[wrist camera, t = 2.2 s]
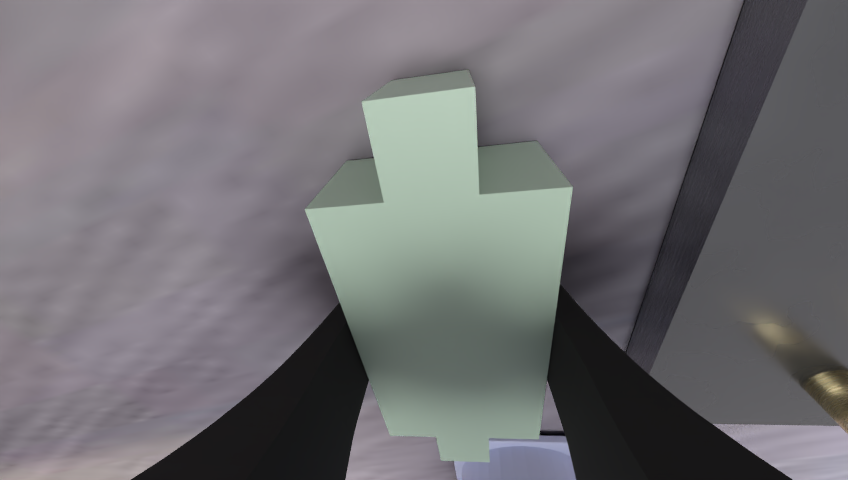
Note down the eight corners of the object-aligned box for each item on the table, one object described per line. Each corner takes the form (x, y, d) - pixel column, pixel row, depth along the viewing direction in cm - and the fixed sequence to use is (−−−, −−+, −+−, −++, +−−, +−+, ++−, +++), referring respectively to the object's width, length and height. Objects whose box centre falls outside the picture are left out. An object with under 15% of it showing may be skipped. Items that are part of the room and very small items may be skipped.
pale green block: (521, 388, 15) (535, 464, 12) (408, 388, 16) (399, 459, 13) (542, 59, 8) (588, 71, 5) (327, 89, 8) (268, 113, 6)
